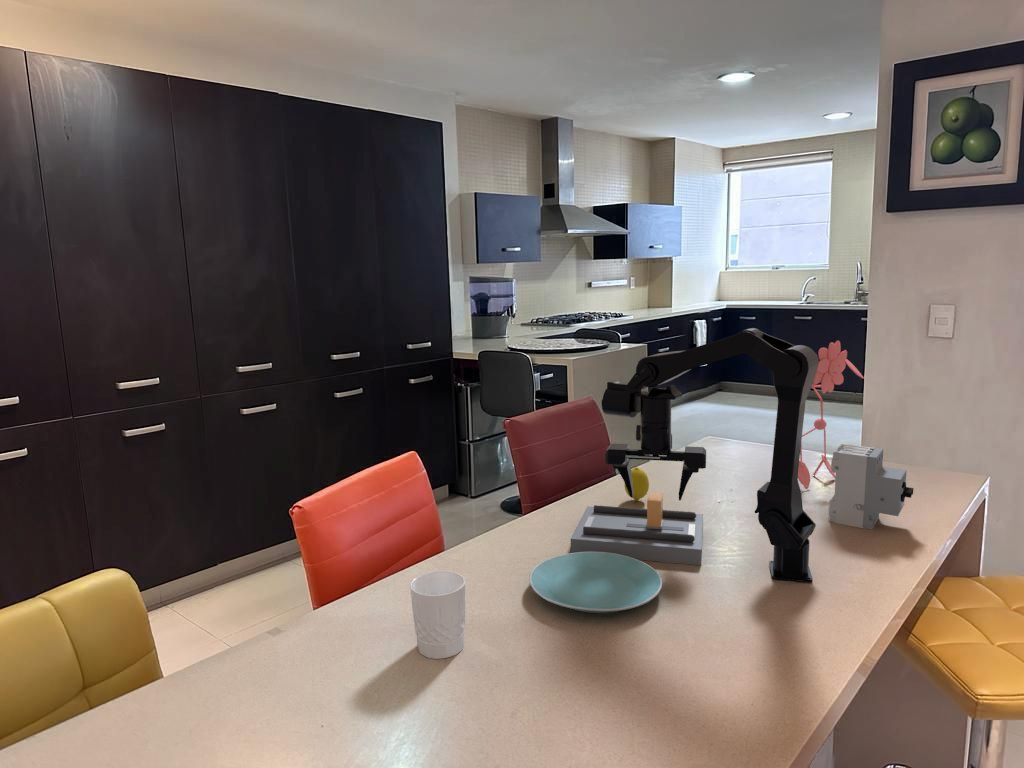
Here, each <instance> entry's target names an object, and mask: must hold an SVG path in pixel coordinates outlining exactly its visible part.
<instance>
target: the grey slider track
mask: <svg viewBox="0 0 1024 768" xmlns="http://www.w3.org/2000/svg"><path fill="white" fill-rule="evenodd" d="M593 507H594V512H600V513H614V514H627V515H641V516H647V508H638V507H623V506H608V505H596V504H595V505H593ZM696 514H697V513H696V512H695V511H694V512H693V511H684V510H683V511H682V510H667V509H663V515H662V517H669V518H683V519H695V518H696ZM583 534H592V535H604V536H617V537H629V538H641V539H654V540H666V541H678V542H693V541H694V540H695V538H694V536H693V535H687V534H675V533H662V532H649V531H636V530H623V529H611V528H598V527H585V526H584V527H583Z"/></svg>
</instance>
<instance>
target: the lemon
mask: <svg viewBox="0 0 1024 768" xmlns="http://www.w3.org/2000/svg"><path fill="white" fill-rule="evenodd" d="M631 474H632V482H633V497H630V495H629V492H628V490H627V487H626V485H625V484H624V491H625V492H626V495H628V496H629V497H630V498H631V499H633V500H634V501H636V502H637V501H640V500H641V499H642V498H645V496H646V495H647V494H648V492H649V490H650V489H649V488H650V482H649V477H648V475H647V472H645V471H644V470H643V469H640V468H639V467H634V468H633V469H632V468H631Z"/></svg>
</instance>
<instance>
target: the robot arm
mask: <svg viewBox="0 0 1024 768" xmlns="http://www.w3.org/2000/svg"><path fill="white" fill-rule="evenodd" d="M743 354H745V355H747V356H748V357H750V358H751V359H753V360H754V361H755V362H756V363H758V364H759V365H760V366H762V367H763V368H766V369H767V370H769V371H772V378H773V379H772V380H773V381H772V382H773V388H774V391H775V395H776V397H777V409H776V410H777V411H776V418H775V419H776V421H775V431H774V440H773V450H772V451H773V453H772V462H771V472H770V480H769V481H766V483H765V484H763V485H762V486H761V487H760V488H758V490H756V491H757V492H756V499H757V501H756V502H757V506H756V509H755V510H754V514H757V519H758V523H759V525H761V527H762V528H763V529H764V530H765V531H766V534H767V536H768V540H769V543H770V545H771V546H773V554H772V555H773V557H772V558H773V560H769V570H770V574H771V575H770V577H771V578H772V579H774V580H784V581H794V582H795V581H796V582H803V583H805V582H806V583H812V582H813V575H812V573H811V572H812V571H811V569H810V566H809V563H810V562H809V561H810V539H809V537H810V536H812V535H813V532H814V531H815V528H816V526H817V524H816V523H815V522H814V520H813V519H812V518H810V516H809V515H808V514H807V513H806V512H805V510H804V509H803V507H804V506H803V495H802V492H801V487H800V484H799V479H798V469H799V461H800V449H801V444H802V440H803V439H802V435H803V430H804V429H803V428H804V419H805V410H806V401H807V398H808V396H809V393H810V391H811V389H812V388H811V387H812V384H813V382H814V378H815V375H816V372H817V368H818V364H819V362H820V359H819V355H818V354H817V352H815V351H814V350H813V349H812V348H811V347H809V346H806V345H803V344H800V345H799V344H798V345H795V344H792V343H791V342H788V341H786V340H783V339H781V338H778V337H775V336H772V335H770V334H767V333H766V332H763V331H761V330H760V329H758V328H754V327H752V328H747V329H744V330H741V331H739V332H738V333H737V332H736V334H732V335H730V336H726V337H723V338H720V339H716V340H714V341H710V342H707V343H705V344H702V345H698V346H696V347H695V346H694V347H692V348H689V349H686V350H677V351H676V350H675V351H668V352H661V353H656V354H652V355H649V356H644V357H643V358H640V359H639V360H638V362H637V365H636V366H635V367H636V368H635V373H634V375H633V376H632V377H631V379H630V380H629V381H628V382H620V381H619V380H618V381H617V380H610V381H608V382H607V383H606V389H605V391H604V393H603V396H602V399H601V409H602V411H603V413H604V415H607V416H616V417H624V418H633V419H634V418H635V417H636V416H637V415H638V414H640V424H636V427H635V429H636V430H635V440H636V442H640V449H634V448H633V449H632V448H630V445H629V443H612V442H611V444H609V446H607V448H606V449H605V450H606V451H605V455H604V457H605V464H607V465H612V467H611V468H612V469H616V470H617V471H618V473H619V475H620V476H621V478H622V480H623V482H624V486H625V485H626V487H627V490H628V492H629V495H630V496H629V495H628V496H629V497H630V498H631V497H633V482H632V474H631V470H632V463H631V462H632V461H631V460H640V461H642V460H643V461H644V460H645V461H664V462H665V461H666V462H683V464H682V470H681V477H680V484H679V490H678V501H682V498H683V495H684V493H685V490H686V487H687V486H688V485H687V484H688V482H689V480H690V479H691V478H692V475H693V473H695V474H697V473H699V472H700V471H699V470H700V469H701V470H704V469H706V468H707V449H706V448H705V447H704V446H687V445H686V446H684V451H680V450H679V451H676V450H672V449H673V434H672V401H675V400H677V399H679V398H682V397H683V393H682V391H680V390H679V389H677V387H676V386H675V385H674V384H672V385H668V386H667V387H666V388H660V387H658V386H660V385H662V384H666V383H668V382H671V381H672V380H674V379H676V378H678V377H680V376H682V375H684V374H686V373H688V372H689V371H691V370H693V369H694V370H695V369H697V368H700V367H702V366H706V365H710V364H713V363H716V362H720V361H723V360H727V359H730V358H733V357H736V356H739V355H743ZM647 388H651V389H649V391H648V390H647V391H646V390H644V389H647Z"/></svg>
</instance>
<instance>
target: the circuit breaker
mask: <svg viewBox="0 0 1024 768" xmlns="http://www.w3.org/2000/svg"><path fill="white" fill-rule="evenodd" d="M883 461H884V448H878V447H870V446H861V445H854V444H843V443H841V444H840V445H839V446H838V447H837V448H836V449H835V450H834V451H833V452H832V458H831V461H830V462H831V464H830V465H831V472H834V473H835V475H836V478H834V480H835V481H834V495H833V496H831V498H830V500H829V501H828V502H829V503H828V504H829V505H828V520H827V521H828V523H831V522H832V523H835V524H839V525H843V526H844V525H845V526H850V527H855V528H860V529H866V530H869V531H870V530H873V528H874V527H875V525H876V523H877V522H878V520H879V518H880V514H881V515H889V516H892V517H894V516H896V517H898V516H899V515H900V513H901V511H902V509H903V508H904V506H905V499H906V498H908V499H909V498H910V499H912V495H913V494H914V488H913V487H908V486H907V469H904V468H902V469H901V468H895V467H888V466H883V464H884V463H883Z"/></svg>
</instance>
